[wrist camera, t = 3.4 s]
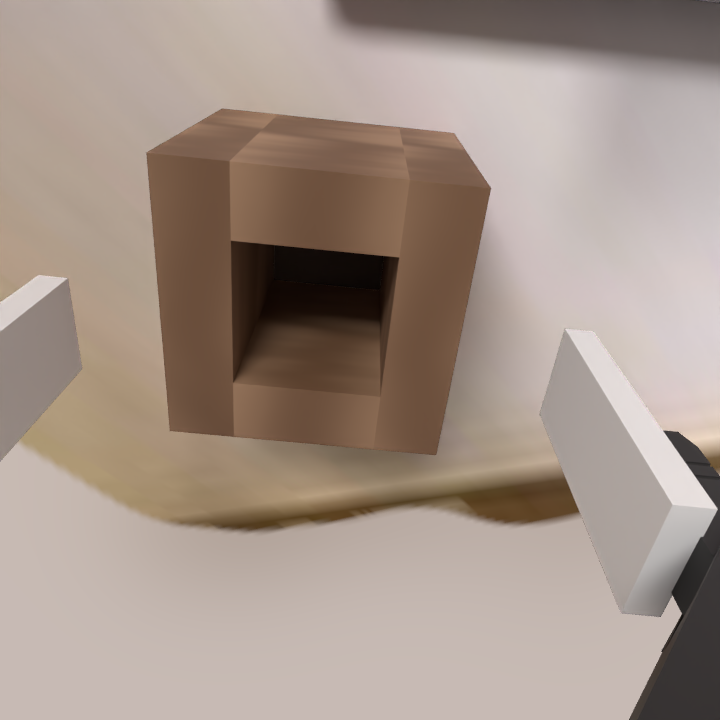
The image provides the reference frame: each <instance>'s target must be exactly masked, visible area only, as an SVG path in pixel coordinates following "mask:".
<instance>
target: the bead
mask: <svg viewBox="0 0 720 720" xmlns="http://www.w3.org/2000/svg"><path fill="white" fill-rule="evenodd" d="M147 164H148V176H149V188H150V200H151V212H152V223H153V235H154V247H155V259H156V271H157V283H158V295H159V307H160V319H161V330H162V342H163V354H164V366H165V378H166V390H167V402H168V414H169V425H170V431H177V432H188V433H199V434H210V435H221V436H232V437H243V438H254V439H265V440H276V441H287V442H298V443H309V444H320V445H331V446H342V447H353V448H364V449H375V450H386V451H397V452H408V453H419V454H430V455H436V453H437V448H438V443H439V439H440V434H441V429H442V424H443V419H444V414H445V409H446V404H447V400H448V395H449V390H450V385H451V380H452V375H453V370H454V366H455V361H456V356H457V351H458V346H459V341H460V336H461V331H462V327H463V322H464V317H465V312H466V307H467V302H468V297H469V292H470V288H471V283H472V278H473V273H474V268H475V263H476V258H477V254H478V249H479V244H480V239H481V234H482V229H483V224H484V219H485V215H486V210H487V205H488V200H489V195H490V190H491V188H490V186H489V185H488V183H487V182H486V180H485V179H484V177H483V176H482V174H481V173H480V171H479V170H478V168H477V167H476V165H475V164H474V162H473V161H472V159H471V158H470V156H469V155H468V153H467V152H466V150H465V149H464V147H463V146H462V144H461V143H460V142H459V140H458V139H457V137H456V136H455V134H454V133H447V132H438V131H428V130H419V129H409V128H400V127H390V126H381V125H371V124H362V123H353V122H343V121H334V120H324V119H315V118H305V117H296V116H286V115H277V114H267V113H258V112H248V111H239V110H230V109H221V110H219V111H217V112H215V113H214V114H212V115H210V116H209V117H207V118H205V119H203V120H202V121H200V122H198V123H197V124H195V125H193V126H191V127H190V128H188V129H186V130H185V131H183V132H181V133H179V134H178V135H176V136H174V137H173V138H171V139H169V140H167V141H166V142H164V143H162V144H161V145H159V146H157V147H155V148H154V149H152V150H150V151H148V152H147ZM275 245H280V246H290V247H300V248H310V249H320V250H330V251H340V252H350V253H360V254H370V255H380V256H383V265H382V273H381V281H380V289H379V290H374V289H364V288H353V287H343V286H333V285H323V284H313V283H302V282H292V281H282V280H274V252H275Z"/></svg>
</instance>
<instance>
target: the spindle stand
mask: <svg viewBox="0 0 720 720" xmlns="http://www.w3.org/2000/svg"><path fill="white" fill-rule="evenodd" d="M697 1H705V2H714V3H720V0H697Z"/></svg>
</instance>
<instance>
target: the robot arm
mask: <svg viewBox="0 0 720 720" xmlns="http://www.w3.org/2000/svg"><path fill="white" fill-rule="evenodd" d="M81 370H82V364H81V358H80V351H79V345H78V339H77V332H76V326H75V320H74V314H73V307H72V301H71V295H70V288H69V282H68V278H62V277H52V276H42V275H38V276H36V277H35V278H34V279H32V280H31V281H29V282H28V283H27V284H25V285H24V286H22V287H21V288H20V289H18V290H17V291H15V292H14V293H13V294H11V295H10V296H8V297H7V298H6V299H4V300H3V301H1V302H0V461H1V460H2V459H3V458H4V457H5V456H6V454H7V453H8V452H9V451H10V450H11V449H12V448H13V447H14V445H15V444H16V443H17V442H18V441H19V440H20V439H21V438H22V436H23V435H24V434H25V433H26V432H27V431H28V430H29V428H30V427H31V426H32V425H33V424H34V423H35V422H36V421H37V419H38V418H39V417H40V416H41V415H42V414H43V413H44V412H45V410H46V409H47V408H48V407H49V406H50V405H51V404H52V402H53V401H54V400H55V399H56V398H57V397H58V396H59V395H60V393H61V392H62V391H63V390H64V389H65V388H66V387H67V386H68V384H69V383H70V382H71V381H72V380H73V379H74V378H75V376H76V375H77V374H78V373H79V372H80V371H81ZM540 416H541V419H542V421H543V424H544V426H545V429H546V431H547V434H548V436H549V438H550V441H551V443H552V446H553V448H554V451H555V453H556V456H557V458H558V461H559V463H560V465H561V468H562V470H563V473H564V475H565V478H566V480H567V483H568V485H569V487H570V490H571V492H572V495H573V497H574V500H575V502H576V505H577V507H578V509H579V512H580V514H581V517H582V519H583V522H584V524H585V527H586V529H587V531H588V534H589V536H590V539H591V541H592V543H593V546H594V548H595V551H596V553H597V556H598V558H599V561H600V563H601V566H602V568H603V571H604V573H605V575H606V578H607V580H608V583H609V585H610V588H611V590H612V593H613V595H614V597H615V600H616V602H617V605H618V607H619V610H620V612H621V613H625V614H635V615H646V616H656V617H661V615H662V614H663V612H664V610H665V608H666V606H667V604H668V602H669V600H670V598H671V597H672V595H673V597H674V599H675V601H676V603H677V605H678V607H679V609H680V610H681V612H682V615H681V617H680V619H679V621H678V622H677V624H676V626H675V628H674V630H673V631H672V633H671V635H670V637H669V638H668V640H667V642H666V644H665V646H664V648H663V649H662V654H661V656H660V658H659V660H658V662H657V664H656V666H655V669H654V670H653V673H652V674H651V676H650V678H649V680H648V682H647V685H646V687H645V689H644V690H643V692H642V694H641V696H640V699H639V700H638V702H637V704H636V707H635V709H634V711H633V713H632V715H631V717H630V719H629V720H720V476H719V474H718V473H717V472H716V471H715V469H714V468H713V467H710V463H709V461H708V460H707V459H706V457H705V456H704V455H703V453H702V452H701V451H700V449H699V448H698V447H697V446H696V445H694V444H693V443H692V442H690V441H689V440H688V439H686V438H685V437H684V436H683V435H681V434H680V433H679V432H673V431H663V430H662V429H661V427H660V426H659V424H658V423H657V421H656V420H655V419H654V417H653V416H652V414H651V413H650V411H649V410H648V409H647V407H646V406H645V404H644V403H643V401H642V400H641V399H640V397H639V396H638V394H637V393H636V391H635V390H634V389H633V387H632V386H631V384H630V383H629V381H628V380H627V379H626V377H625V376H624V374H623V373H622V371H621V370H620V369H619V367H618V366H617V364H616V363H615V361H614V360H613V359H612V357H611V356H610V354H609V353H608V351H607V350H606V349H605V347H604V346H603V344H602V343H601V341H600V340H599V339H598V337H597V336H596V334H595V333H594V331H584V330H575V329H565V330H564V333H563V337H562V340H561V343H560V347H559V350H558V353H557V357H556V360H555V364H554V367H553V370H552V374H551V377H550V380H549V384H548V387H547V390H546V394H545V397H544V400H543V404H542V407H541V410H540Z"/></svg>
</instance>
